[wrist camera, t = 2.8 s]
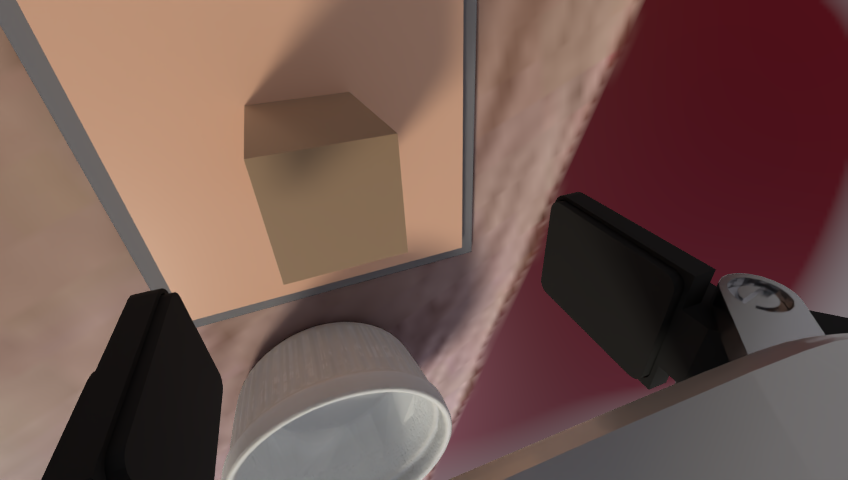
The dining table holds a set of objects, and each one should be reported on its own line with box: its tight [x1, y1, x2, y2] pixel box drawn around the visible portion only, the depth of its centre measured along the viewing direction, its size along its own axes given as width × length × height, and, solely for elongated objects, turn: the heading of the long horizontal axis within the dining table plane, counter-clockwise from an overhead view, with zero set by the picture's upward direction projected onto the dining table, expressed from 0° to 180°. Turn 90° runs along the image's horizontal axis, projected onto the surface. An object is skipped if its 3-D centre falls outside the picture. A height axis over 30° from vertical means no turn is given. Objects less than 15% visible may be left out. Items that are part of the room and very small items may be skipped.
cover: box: [16, 0, 463, 320], centre depth 16 cm, size 16×16×8 cm
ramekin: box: [221, 322, 452, 480], centre depth 25 cm, size 13×13×7 cm
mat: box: [0, 0, 477, 328], centre depth 19 cm, size 18×18×1 cm
